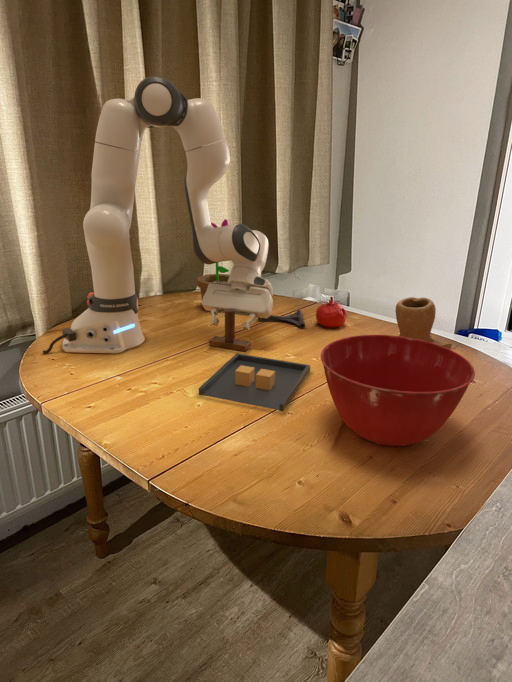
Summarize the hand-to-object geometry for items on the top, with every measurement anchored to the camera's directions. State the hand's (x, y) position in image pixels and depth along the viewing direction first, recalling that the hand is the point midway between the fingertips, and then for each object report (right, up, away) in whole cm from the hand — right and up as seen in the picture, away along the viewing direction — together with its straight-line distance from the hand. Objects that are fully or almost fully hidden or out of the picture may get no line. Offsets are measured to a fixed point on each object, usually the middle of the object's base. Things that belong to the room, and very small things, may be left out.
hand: (229, 326), depth 137 cm
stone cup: (+53, -7, +3) cm, 53 cm away
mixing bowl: (+34, -22, -35) cm, 54 cm away
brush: (0, -6, +3) cm, 7 cm away
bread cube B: (+5, -14, -19) cm, 24 cm away
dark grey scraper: (+15, +3, +26) cm, 30 cm away
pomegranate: (+31, +1, +23) cm, 38 cm away
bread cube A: (+9, -14, -20) cm, 27 cm away
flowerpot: (-6, +8, +38) cm, 40 cm away
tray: (+8, -14, -18) cm, 24 cm away
